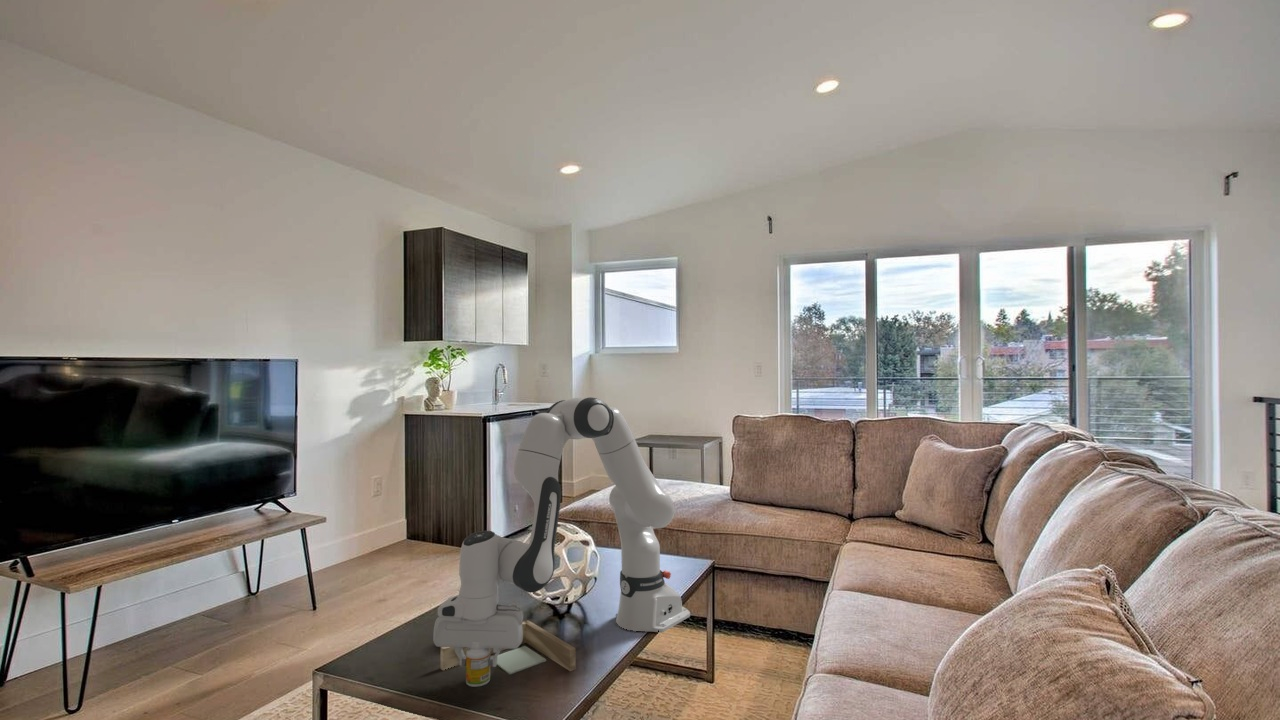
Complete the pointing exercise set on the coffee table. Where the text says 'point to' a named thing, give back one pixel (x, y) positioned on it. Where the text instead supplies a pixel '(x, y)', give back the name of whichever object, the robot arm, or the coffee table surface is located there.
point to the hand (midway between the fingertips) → (478, 665)
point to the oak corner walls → (531, 636)
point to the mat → (518, 659)
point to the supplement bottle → (477, 665)
